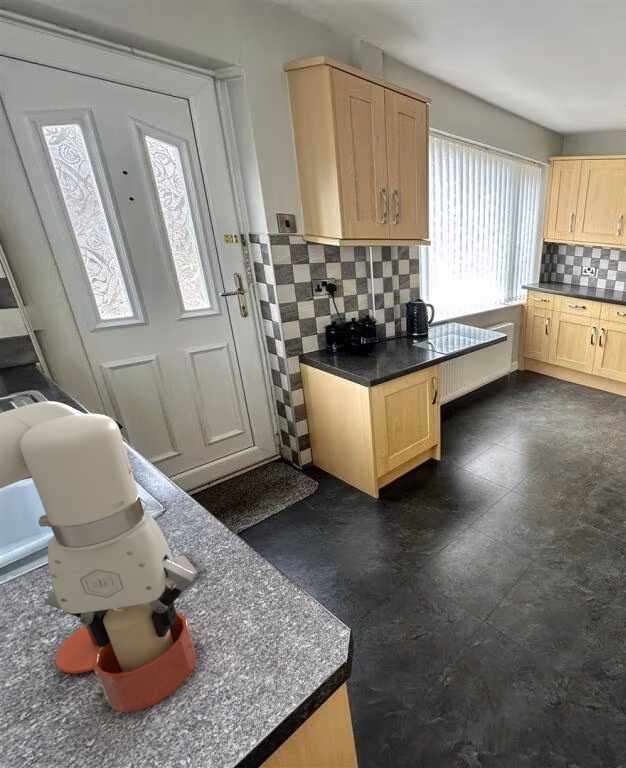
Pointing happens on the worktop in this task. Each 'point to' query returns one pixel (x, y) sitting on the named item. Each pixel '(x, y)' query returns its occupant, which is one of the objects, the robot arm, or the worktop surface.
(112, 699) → the pot
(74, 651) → the lid
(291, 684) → the worktop surface
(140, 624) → the candle
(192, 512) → the worktop surface
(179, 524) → the worktop surface
